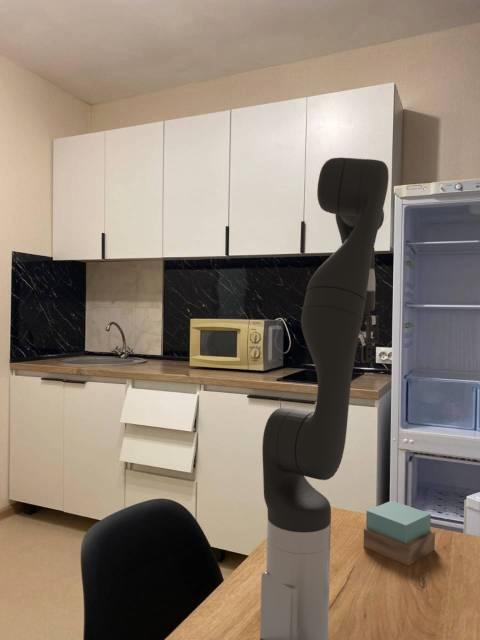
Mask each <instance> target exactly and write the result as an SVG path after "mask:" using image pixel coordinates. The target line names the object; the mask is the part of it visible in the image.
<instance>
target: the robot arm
mask: <svg viewBox="0 0 480 640" xmlns="http://www.w3.org/2000/svg"><path fill="white" fill-rule="evenodd" d="M389 176H390V175H389V168H388V166H387V163H386V162H384V161H383V160H379V159H373V158H355V157H345V156H343V157H340V156H339V157H331V158H329V159H328V160H326V161H324V163H323V164H322V167H321V169H320V172H319V175H318V180H317V181H318V182H317V190H316V191H317V194H316V195H317V202H318V204H319V207H320V208H321V210H322V211H324V212H326V213H329V214H333V215H335V222H336V226H337V229H338V232H339V235H340V236H339V237H340V241H341V245H340V246H339V247H338V248H337V250H335V251H334V252H333V253H332V254H331V255H330V256H329V257H328V258H327V259H326V260H325V261H323V263H322V264H321V265H320V266H319V267H318V268H317V270H316V271H315V272H314V273H313V275H312V276H311V277H310V279H309V281H308V284H307V287H306V292H305V296H304V300H303V301H304V302H303V305H302V306H303V307H302V312H301V316H300V317H301V318H300V325H301V331H302V333H303V334H302V335H303V337H304V340H305V343H306V345H307V348H308V351H309V354H310V356H311V358H312V361H313V364H314V368H315V371H316V376H317V377H316V378H317V394H316V402H315V408H314V411H313V410H308V409H307V410H306V409H300V408H296V407H295V408H294V407H286V406H285V407H284V406H283V407H279V408H277V409H275V410H274V411H273V412H272V413H271V414H270V415H269V417H268V418H267V421H266V424H265V427H264V430H263V434H262V435H263V436H262V449H261V450H262V452H261V453H262V476H263V477H262V478H263V482H262V483H263V499H264V502H265V505H266V509H267V524H266V527H267V530H266V532H267V533H266V570H265V571H263V572H262V574H261V575H260V577H261V578H260V579H261V582H260V585H261V586H260V587H261V588H260V625H259V626H260V627H259V628H260V630H259V631H260V632H259V635H260V639H262V640H329V620H330V619H329V616H330V607H329V606H330V573H331V571H330V568H331V534H332V533H331V531H332V530H331V527H332V507H331V503H330V501H329V500H328V499H327V497H326V496H324V494H322V493H321V492H319V491H318V490H317V489H316V488H314V487H313V486H312V484H311V483H310V482H309V481H308V480H307V479H306V478H311V479H314V480H319V481H327V480H330V479H332V478H334V476H335V474H336V473H337V471H338V469H339V468H340V465H341V463H342V460H343V455H344V450H345V447H346V438H347V429H348V420H349V417H348V416H349V408H350V407H349V406H350V397H351V386H352V385H351V384H352V377H353V369H354V364H355V358H356V352H357V346H358V342H359V340H360V343H361V363H363V364H371V363H372V362H373V346H375V344H379V343H380V328H379V327H380V325H379V324H380V322H379V321H380V318H379V315H371V311H374V310H375V309H376V275H375V262H376V260H375V259H376V257H375V256H376V254H375V252H376V250H375V244H376V239H377V235H378V231H379V230H380V229H381V227H382V226H383V225H384V219H385V211H384V206H385V202H386V197H387V192H388V188H389V187H388V186H389Z"/></svg>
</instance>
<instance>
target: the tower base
mask: <svg viewBox="0 0 480 640" xmlns="http://www.w3.org/2000/svg"><path fill="white" fill-rule="evenodd" d="M435 542H436V531H433V530H432V529H430V531H429V532H427V533H426V534H424V535H422V536H420V537H418V538H416V539H414V540H412V541H410V542H408V543H406V544H405V543H403V542H400V541H398V540H395V539H393V538H391V537H388V536H386V535H383V534H381V533H378V532H376V531H373V530H371V529H368V528H366V527H365V528H363V547H364V548H365V549H369V550H371V551H373V552H376V553H377V554H380V555H382V556H385V557H388V558H389V559H392V560H395V561H397V562H399V563H402V564H404V565H407V566H410V565H412V564H414V563H415V562H416V561H419V560H421V558H424V557H425V556H427V555H429V554H430V553H432V552H434V551H436V547H435V545H436V543H435Z"/></svg>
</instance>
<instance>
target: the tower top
mask: <svg viewBox="0 0 480 640" xmlns="http://www.w3.org/2000/svg"><path fill="white" fill-rule="evenodd" d="M365 518H366V521H365V522H366V525H365V528H368V529H371V530H373V531H376V532H378V533H381V534H383V535H386V536H388V537H391V538H393V539H395V540H398V541H400V542H403V543H405V544H406V543H408V542H410V541H412V540H414V539H416V538H418V537H420V536H422V535H424V534H426V533H427V532H429V531H430V530H431V524H432V523H431V521H432V519H431V518H432V513H429V512H427V511H424V510H420V509H417V508H414V507H412V506H409V505H406V504H403V503H400V502H397V501H394V500H389V501H387V502H385V503H382V504H380V505H377V506H373V507H372V508H369V509H367V510H366V517H365Z"/></svg>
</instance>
